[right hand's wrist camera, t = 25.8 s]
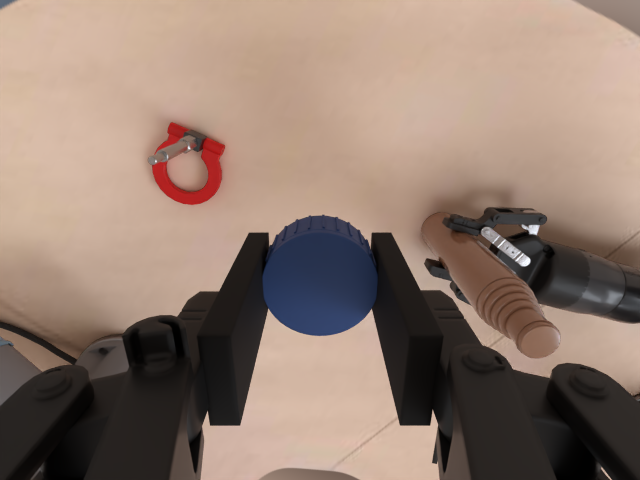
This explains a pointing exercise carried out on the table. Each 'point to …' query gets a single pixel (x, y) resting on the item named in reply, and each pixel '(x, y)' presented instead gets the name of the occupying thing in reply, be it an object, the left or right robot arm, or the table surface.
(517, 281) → the bottle
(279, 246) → the cap
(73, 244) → the table surface
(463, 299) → the left robot arm
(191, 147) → the tow hook
